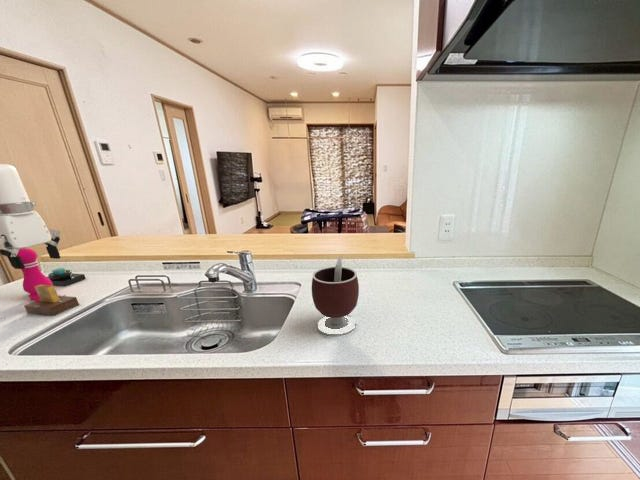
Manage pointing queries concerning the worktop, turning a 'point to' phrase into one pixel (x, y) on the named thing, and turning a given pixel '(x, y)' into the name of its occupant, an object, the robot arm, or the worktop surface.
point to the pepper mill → (32, 273)
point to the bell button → (59, 271)
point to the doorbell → (65, 278)
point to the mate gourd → (335, 294)
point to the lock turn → (47, 293)
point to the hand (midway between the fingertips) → (38, 263)
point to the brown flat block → (51, 306)
